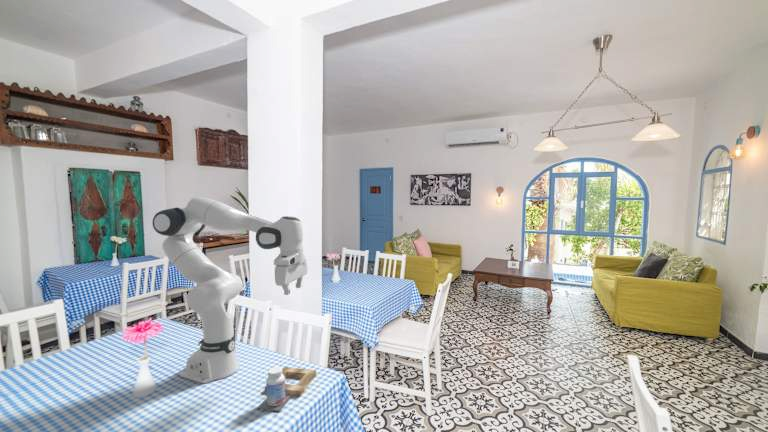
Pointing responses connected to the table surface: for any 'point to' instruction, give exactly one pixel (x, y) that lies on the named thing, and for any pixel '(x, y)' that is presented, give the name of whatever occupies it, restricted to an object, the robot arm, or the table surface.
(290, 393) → the holder
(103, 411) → the table surface
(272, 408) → the coaster
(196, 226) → the robot arm
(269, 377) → the pill bottle
